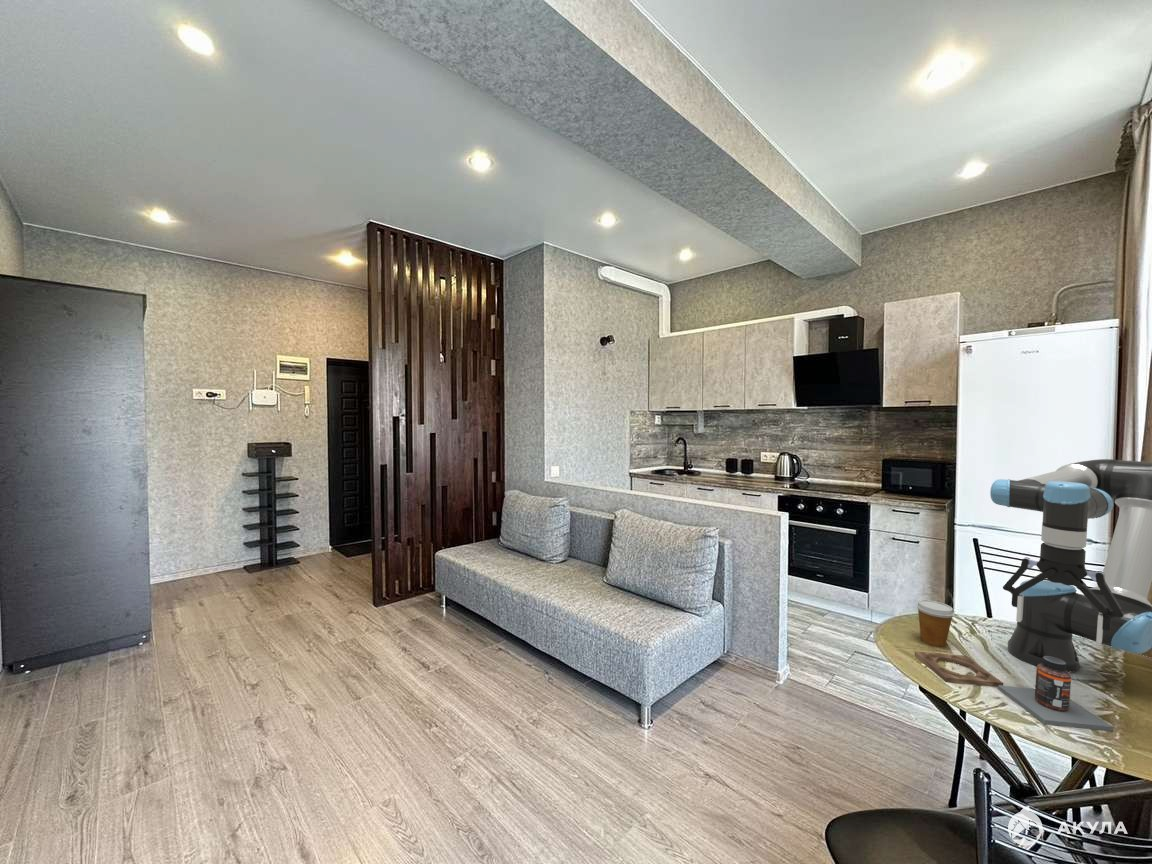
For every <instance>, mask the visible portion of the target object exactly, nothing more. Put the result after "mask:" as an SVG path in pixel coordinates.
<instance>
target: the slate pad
mask: <svg viewBox="0 0 1152 864" xmlns="http://www.w3.org/2000/svg"><path fill="white" fill-rule="evenodd" d="M997 689H998V690H999V691H1000V692H1001V693H1003V694H1004V695H1006V696H1007V697H1008V698H1009V699H1011V700H1012V701H1014V702H1015V703H1016V704H1017V705H1018V706H1020V707H1021V708H1022V709H1024V710H1025V711H1027V712H1028V713H1029V714H1030V715H1032V717H1034V718H1036V719H1037V720H1038V721H1040V722H1041V723H1043V724H1044V725H1050V726H1059V727H1069V728H1080V729H1088V730H1098V731H1108V732H1109V731H1110V732H1113V731H1114V726H1113V725H1111V724H1109V723H1108V722H1106V721H1105V720H1104V719H1102V718H1100V717H1098V716H1097V715H1096V714H1094V713H1093V712H1091V711H1090V710H1088V709H1086V708H1085V707H1084V706H1082V705H1081V704H1079V703H1078V702H1076V701H1075V700H1072V699H1071V698H1070V701H1069V703H1070V704H1069V709H1068V710H1067V711H1059V710H1054V709H1051V708H1049V707H1046V706H1044V705H1042V704H1040V703H1039V702H1038V701H1037V700H1036V699H1035V687H1034V688H1031V687H1023V686H1022V687H1021V686H1010V685H1003V686H1002V685H998V687H997Z"/></svg>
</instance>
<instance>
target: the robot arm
mask: <svg viewBox="0 0 1152 864" xmlns="http://www.w3.org/2000/svg"><path fill="white" fill-rule="evenodd" d="M989 492H990V493H989V494H990V495H989V496H990V499H991V501H992V502H993V503H994V504H995V505H998V506H1003V507H1007V508H1014V509H1022V510H1027V511H1028V510H1029V511H1034V512H1035V511H1036V512H1042V524H1041V535H1040V536H1041V538H1040V539H1041V542H1042V543H1040V553H1039V560H1038V561H1037V560H1034V559H1031V558H1030V557H1027V556H1025V557H1024V558H1023V559H1022V560H1021V564H1020V567H1019V568H1018V569H1017V570H1015V572H1014V574H1013V575H1011V576H1010V578H1009V579H1008V580H1007V581H1006V582H1005V584H1004V585H1003V586H1002V589H1003V590H1004V591H1007V592H1009V593H1011V606H1012V607H1013V608H1016V618H1015V620H1016V626H1015V629H1014V631H1013V632H1012V634H1011V637H1010V638H1009V639H1008V641H1007V647H1006V648H1007V649H1006V650H1007V651H1008V652H1009V653H1010V654H1011V655H1012V656H1014V657H1015V658H1017V659H1019V660H1021V661H1023V662H1026V663H1029V664H1031V665H1033V666H1036V667H1037V665H1038V664H1040V663H1043V661H1042V660H1043V656H1051V657H1055V658H1058V659H1061V660H1063V661H1064V662H1066V670H1067V671H1068V672H1069V673H1074V672H1078V671H1079V669H1080V659H1079V657H1078V654H1077V650H1076V648H1075V645H1074V642H1073V635H1075V636H1077V637H1080V638H1083V639H1086V640H1089V641H1093V642H1095V643H1096V644H1100V645H1105V646H1107V647H1112V648H1113V649H1114V650H1121V651H1124V652H1128V653H1130V654H1137V655H1140V654H1141V655H1142V654H1144V653H1146V652H1149V651H1150V650H1151V649H1152V604H1151V603H1150V601H1149V600H1148V596H1149V593H1150V588H1151V585H1152V462H1151V461H1140V460H1139V461H1138V460H1137V461H1136V460H1126V459H1125V460H1124V459H1112V458H1111V459H1110V458H1109V459H1107V458H1105V459H1091V460H1090V459H1089V460H1083V461H1077V462H1072V463H1068V464H1064V465H1061V466H1060V467H1058V468H1057V469H1056V470H1055V471H1051V472H1048V473H1047V472H1046V473H1044V474H1043V473H1042V474H1039V475H1035V476H1032V477H1028V478H1024V479H1019V480H1014V479H1002V478H1000V479H999V478H998V479H996V480H994V481H993V483H991V486H990V491H989ZM1113 499H1114V500H1113ZM1114 503H1115V505H1116V506H1117V507H1118V508H1119V509H1120V510H1119V515H1118V518H1117V522H1116V525H1115V528H1114V532H1113V535H1112V539H1111V542H1110V545H1109V546H1110V547H1109V549H1108V554H1107V556H1106V560H1105V563H1104V566H1103V567H1104V568H1103V570H1102V571H1101V570H1098V571H1092V570H1087V568H1086V566H1085V565H1086V550H1085V549H1084V548H1086V547H1087V537H1088V536H1087V535H1088V521H1089V519H1098V518H1101V517H1103V516H1106V515H1108V514H1109V513H1110V512H1111V511H1112V510H1113V507H1114ZM1034 566H1035V567H1037V568H1038V570H1039V571H1040V572H1041V573H1038V574H1037V575H1036V576H1034V577H1033V578H1031V579H1028V580H1024V581H1021V583H1020V585H1019V586H1017V587H1015V586H1013V585H1015V584H1016V583H1017V581H1018V580H1019V579H1020V578H1021V577H1022V576H1023V575H1024V574H1025V572H1026V571H1027V570H1028V569H1033V567H1034ZM1086 577H1089V578H1091V580H1092V581H1093V582H1096V584H1097V585H1096V586H1093V587H1088V586H1087V584H1086V583H1085V581H1084V580H1083V579H1085V578H1086ZM1046 579H1047V580H1046ZM1076 588H1077V589H1078V590H1079V591H1080V592H1081V593H1078V592H1077V589H1076Z"/></svg>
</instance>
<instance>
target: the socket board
mask: <svg viewBox="0 0 1152 864" xmlns="http://www.w3.org/2000/svg"><path fill="white" fill-rule="evenodd" d="M914 656H915V657H916V658H917V659H919V661H921V662H922V663H923V664H924V665H925V666H927V668H929V669H930V670H931V671H932V672H933V673H934V674H936V675H937V676H938V677H939V678H940V679H942V680H943V682H945V683H952V684H963V685H973V686H974V685H976V686H984V687H985V686H986V687H994V688H998V685H1002V686H1004V682H1003V681H1002V680H1000V679H999V678H997V677H996V676H995V675H994V674H992V673H991V672H989V671H988V670H986V669H985V668H984V667H982V666H981V665H980V664H978V663H977V662H975V661H974V660H973V659H972V658H971V657H968V656H967V655H962V654H951V653H940V652H939V653H938V652H928V651H927V652H926V651H914ZM942 661H943V663H953V662H954V664H955V663H956V665H958V664H959V666H960V667H964V668H968V669H969V670H971V671H972V672H973V673H975V675H970V674H960V673H957V672H955V671H952V670H950V669H947V668H944V667H943V666H942V665H940V664H939V662H942ZM945 661H946V662H945Z"/></svg>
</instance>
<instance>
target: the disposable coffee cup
mask: <svg viewBox="0 0 1152 864" xmlns="http://www.w3.org/2000/svg"><path fill="white" fill-rule="evenodd" d="M915 606H916V608H917V611H918V612H917V613H918V622H919V634H920V640H921V641H922V642H923V643H925V644H927V645H930V646H933V647H937V648H944V646H945V647H946V646H947V645H946V644H947V641H948V637H949V632H950V630H951V629H950V627H951V623H952V620H953V617H954V616H955V612H954V611H953V607H952V606H950V605H948V604H946V603H943V602H939V601H935V600H931V599H920V600H918V601H917V603H916V605H915Z"/></svg>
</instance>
